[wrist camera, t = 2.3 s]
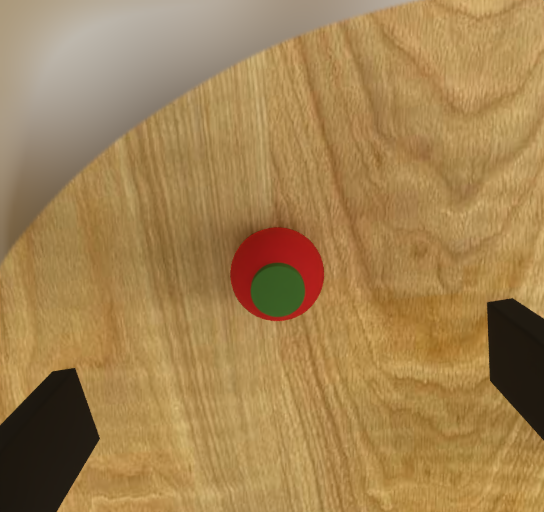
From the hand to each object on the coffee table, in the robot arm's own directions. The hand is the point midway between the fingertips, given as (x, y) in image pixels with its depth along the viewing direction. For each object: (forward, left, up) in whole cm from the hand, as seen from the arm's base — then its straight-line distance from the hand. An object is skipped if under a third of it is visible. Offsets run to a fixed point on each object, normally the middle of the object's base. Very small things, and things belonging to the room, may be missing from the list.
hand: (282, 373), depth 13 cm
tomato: (0, 0, -12) cm, 12 cm away
